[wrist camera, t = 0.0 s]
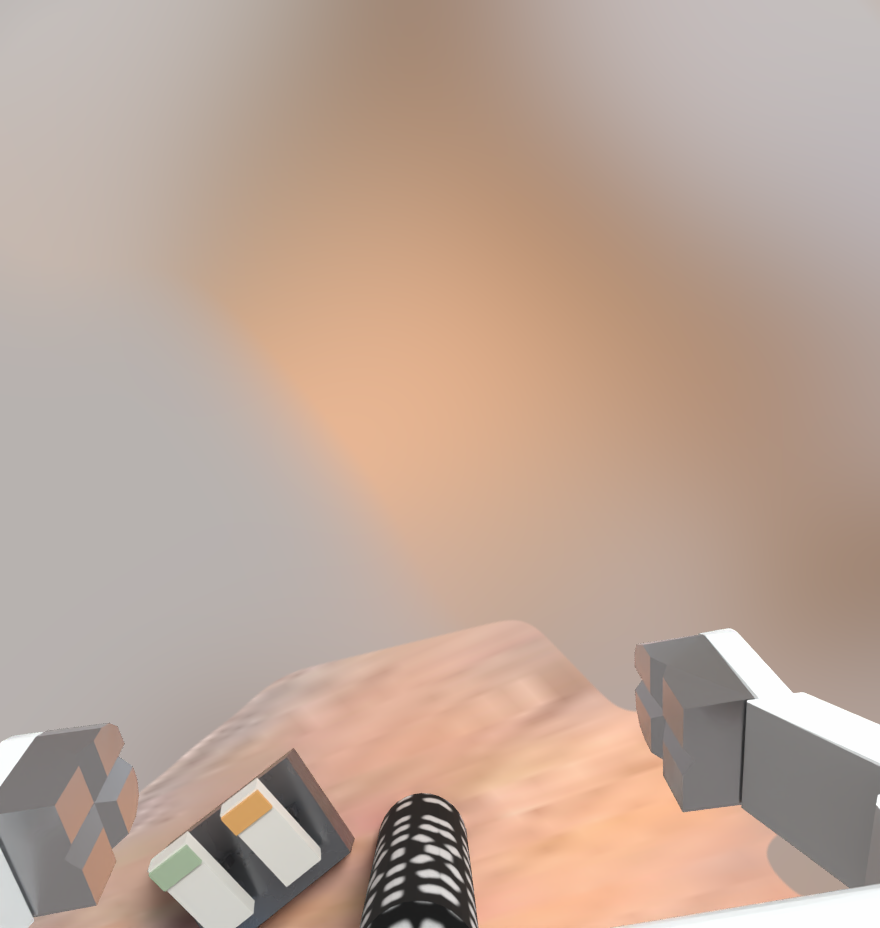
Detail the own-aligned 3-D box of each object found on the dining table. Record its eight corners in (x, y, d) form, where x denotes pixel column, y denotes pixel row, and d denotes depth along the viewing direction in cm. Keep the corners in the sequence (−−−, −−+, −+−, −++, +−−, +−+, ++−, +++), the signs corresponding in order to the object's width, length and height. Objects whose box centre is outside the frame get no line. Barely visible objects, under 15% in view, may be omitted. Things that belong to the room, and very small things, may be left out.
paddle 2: (320, 848, 56) (321, 862, 55) (286, 875, 56) (286, 889, 54) (257, 777, 54) (255, 789, 53) (221, 804, 54) (219, 818, 52)
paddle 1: (254, 900, 56) (253, 916, 54) (220, 928, 55) (217, 944, 54) (187, 831, 54) (184, 845, 52) (151, 859, 53) (146, 874, 52)
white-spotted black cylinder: (481, 864, 60) (505, 1009, 40) (400, 905, 59) (383, 1073, 39) (444, 777, 61) (450, 877, 41) (364, 817, 60) (330, 937, 40)
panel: (354, 838, 60) (348, 860, 55) (229, 938, 58) (212, 969, 54) (293, 748, 61) (282, 762, 57) (169, 843, 60) (148, 866, 55)
